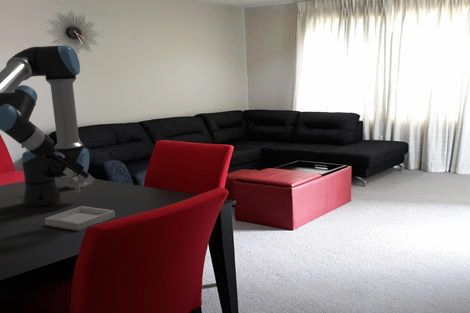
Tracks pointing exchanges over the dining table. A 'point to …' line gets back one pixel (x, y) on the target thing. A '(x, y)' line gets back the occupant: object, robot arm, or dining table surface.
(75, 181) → the pipe connector
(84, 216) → the tray
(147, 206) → the dining table surface
